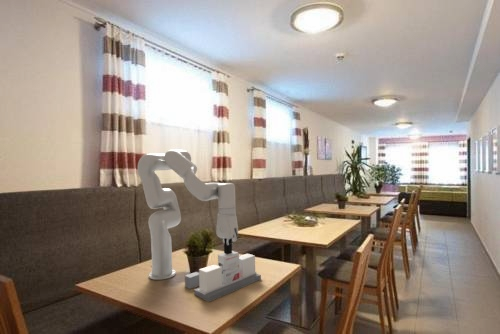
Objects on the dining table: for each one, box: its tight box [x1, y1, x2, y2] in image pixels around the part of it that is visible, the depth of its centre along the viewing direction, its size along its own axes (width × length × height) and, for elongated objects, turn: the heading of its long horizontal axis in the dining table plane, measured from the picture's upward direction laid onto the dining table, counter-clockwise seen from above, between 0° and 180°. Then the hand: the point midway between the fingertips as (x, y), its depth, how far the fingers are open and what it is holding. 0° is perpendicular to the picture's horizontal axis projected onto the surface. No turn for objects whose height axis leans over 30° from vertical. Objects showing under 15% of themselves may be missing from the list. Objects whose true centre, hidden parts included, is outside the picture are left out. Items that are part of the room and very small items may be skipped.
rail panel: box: [193, 253, 262, 303], centre depth 131 cm, size 10×30×11 cm, turn 135°
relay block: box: [184, 271, 199, 290], centre depth 133 cm, size 4×6×5 cm, turn 135°
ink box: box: [217, 250, 240, 284], centre depth 131 cm, size 9×5×12 cm, turn 134°
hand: (228, 253), depth 131 cm, fingers closed
